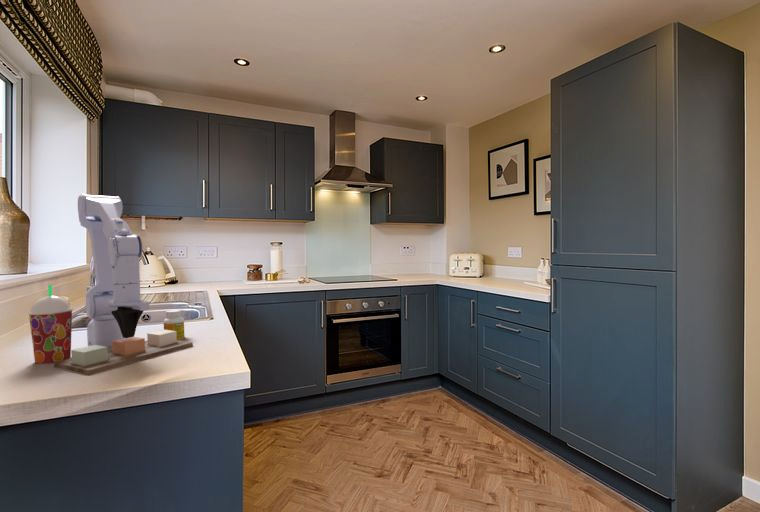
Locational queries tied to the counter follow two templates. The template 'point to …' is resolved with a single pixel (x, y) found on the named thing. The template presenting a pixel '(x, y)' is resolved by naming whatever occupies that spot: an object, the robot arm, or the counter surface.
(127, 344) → the key terracotta
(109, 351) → the brown rectangular tray
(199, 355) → the counter surface
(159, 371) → the counter surface
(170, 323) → the supplement bottle
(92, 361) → the key sage
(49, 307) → the smoothie
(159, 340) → the key cream
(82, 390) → the counter surface
